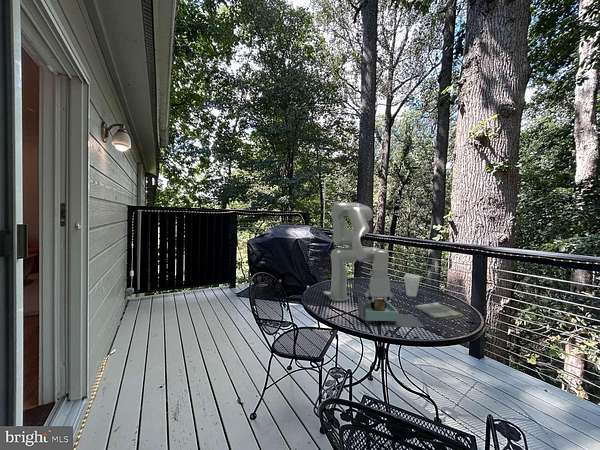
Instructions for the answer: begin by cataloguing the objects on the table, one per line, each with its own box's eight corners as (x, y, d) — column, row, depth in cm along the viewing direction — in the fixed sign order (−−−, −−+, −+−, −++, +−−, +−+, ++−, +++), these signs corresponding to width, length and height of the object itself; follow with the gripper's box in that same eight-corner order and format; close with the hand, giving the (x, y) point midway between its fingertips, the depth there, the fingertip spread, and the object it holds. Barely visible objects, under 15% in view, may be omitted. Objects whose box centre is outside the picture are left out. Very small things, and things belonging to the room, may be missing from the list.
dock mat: (388, 326, 145) (388, 326, 145) (378, 314, 161) (378, 313, 161) (425, 327, 145) (425, 327, 145) (411, 314, 162) (411, 314, 162)
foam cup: (411, 298, 191) (412, 278, 190) (400, 293, 200) (401, 274, 199) (422, 296, 196) (423, 276, 195) (410, 292, 204) (412, 273, 203)
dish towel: (435, 320, 156) (436, 314, 156) (414, 308, 173) (414, 303, 173) (464, 318, 161) (465, 312, 160) (440, 306, 178) (441, 301, 178)
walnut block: (374, 311, 150) (375, 302, 150) (372, 308, 155) (372, 298, 154) (384, 312, 150) (385, 302, 150) (381, 308, 155) (382, 299, 155)
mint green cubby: (363, 324, 146) (363, 305, 145) (356, 314, 160) (357, 296, 159) (397, 325, 146) (399, 305, 145) (388, 314, 160) (389, 296, 159)
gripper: (365, 275, 147) (363, 311, 148) (399, 276, 148) (397, 312, 149) (361, 271, 155) (360, 306, 156) (394, 272, 155) (392, 306, 156)
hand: (378, 308), depth 152 cm, fingers closed on walnut block, 4 cm apart
